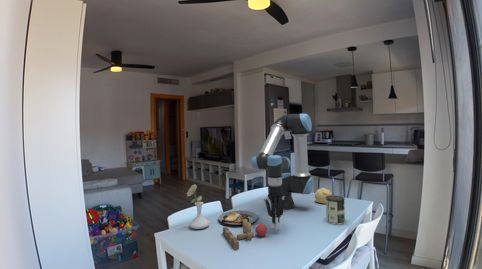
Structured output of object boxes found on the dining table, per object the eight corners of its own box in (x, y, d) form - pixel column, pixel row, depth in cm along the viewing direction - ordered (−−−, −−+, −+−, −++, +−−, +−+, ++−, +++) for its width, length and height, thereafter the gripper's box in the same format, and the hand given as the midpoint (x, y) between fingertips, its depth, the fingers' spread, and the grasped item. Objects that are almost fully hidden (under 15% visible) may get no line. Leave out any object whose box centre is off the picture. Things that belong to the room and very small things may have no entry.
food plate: (250, 229, 140) (250, 223, 140) (212, 225, 148) (212, 219, 148) (262, 216, 163) (262, 210, 163) (229, 213, 171) (228, 207, 171)
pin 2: (245, 239, 128) (245, 222, 128) (250, 238, 129) (250, 221, 128) (247, 241, 126) (247, 224, 125) (252, 240, 126) (251, 223, 126)
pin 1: (242, 235, 133) (242, 219, 132) (246, 234, 133) (246, 218, 133) (244, 237, 130) (243, 220, 130) (248, 236, 131) (248, 220, 131)
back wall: (222, 233, 135) (222, 227, 135) (226, 232, 136) (226, 226, 136) (234, 250, 117) (234, 242, 117) (239, 249, 117) (238, 241, 117)
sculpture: (331, 205, 179) (330, 190, 179) (313, 203, 184) (313, 189, 184) (332, 201, 189) (332, 186, 189) (316, 199, 194) (315, 185, 194)
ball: (261, 219, 135) (265, 229, 136) (251, 226, 133) (255, 235, 134) (266, 224, 129) (270, 234, 130) (256, 230, 127) (261, 240, 128)
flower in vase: (201, 221, 154) (200, 180, 153) (213, 226, 146) (212, 183, 145) (183, 228, 144) (181, 184, 144) (194, 233, 136) (193, 187, 136)
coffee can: (343, 218, 153) (342, 195, 153) (346, 225, 143) (346, 200, 143) (325, 217, 155) (324, 194, 155) (327, 224, 145) (327, 199, 145)
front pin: (252, 236, 132) (236, 238, 129) (251, 231, 132) (236, 234, 129) (253, 237, 129) (238, 240, 126) (253, 233, 129) (238, 235, 126)
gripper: (267, 187, 129) (268, 233, 129) (289, 185, 133) (290, 229, 134) (260, 184, 136) (261, 228, 136) (282, 182, 140) (283, 224, 141)
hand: (276, 228), depth 135 cm, fingers closed
